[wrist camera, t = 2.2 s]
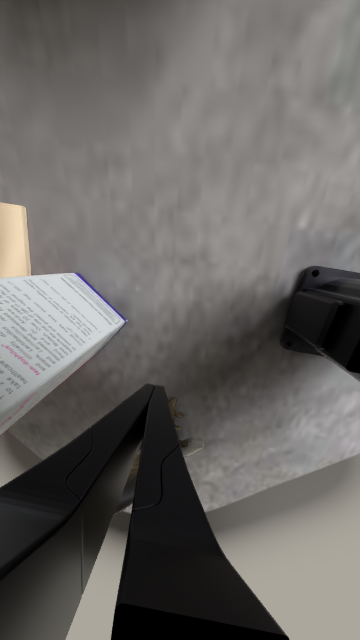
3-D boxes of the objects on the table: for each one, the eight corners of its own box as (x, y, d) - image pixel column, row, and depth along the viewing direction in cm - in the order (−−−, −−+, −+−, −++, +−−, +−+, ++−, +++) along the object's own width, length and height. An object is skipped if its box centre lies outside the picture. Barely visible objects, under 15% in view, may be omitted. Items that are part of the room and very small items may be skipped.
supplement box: (75, 269, 15) (-245, 283, 4) (129, 320, 16) (-15, 443, 5) (39, 316, 17) (-267, 418, 6) (90, 360, 17) (-87, 522, 7)
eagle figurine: (113, 386, 17) (92, 471, 18) (138, 452, 11) (104, 574, 12) (182, 384, 21) (161, 453, 22) (227, 431, 15) (196, 523, 16)
